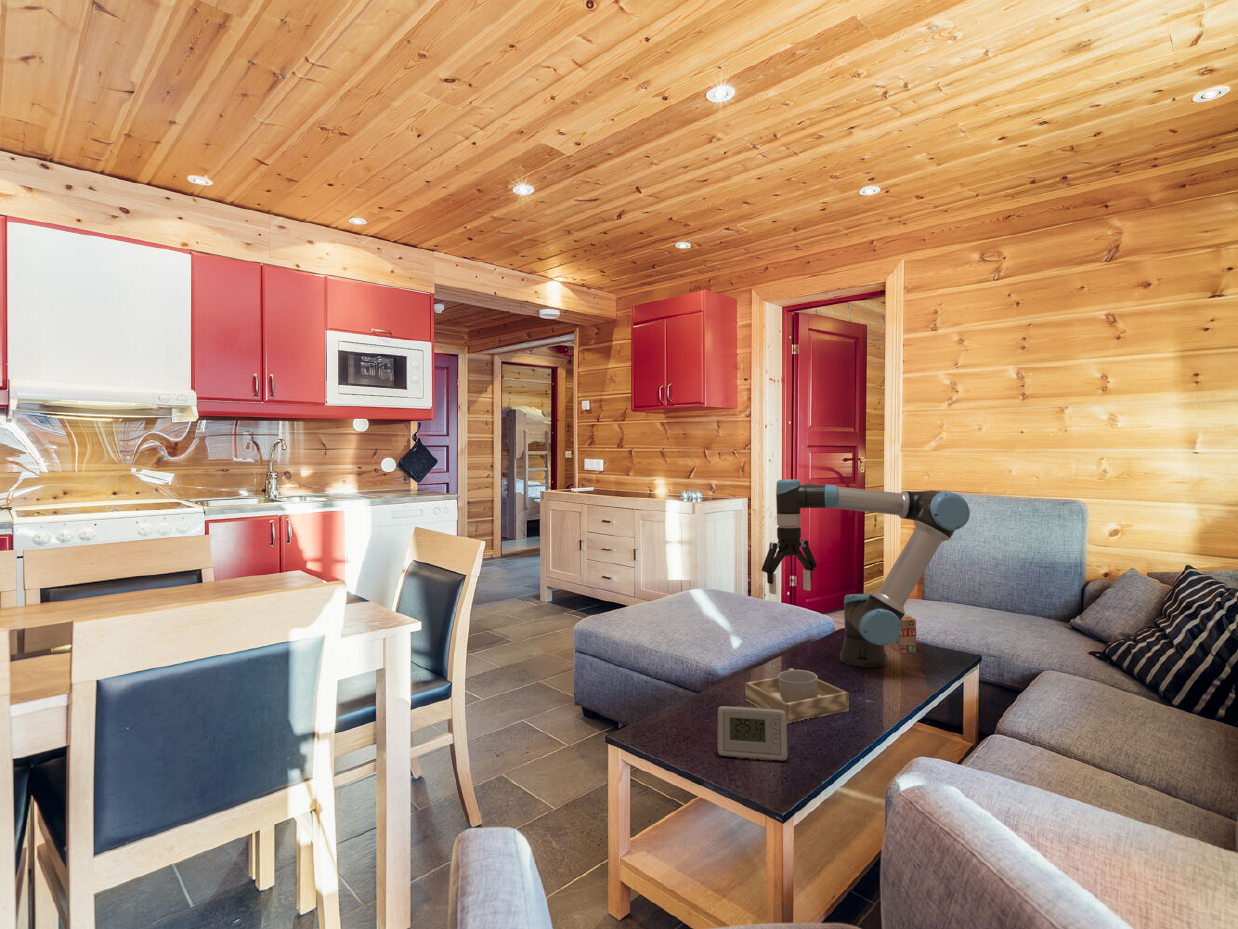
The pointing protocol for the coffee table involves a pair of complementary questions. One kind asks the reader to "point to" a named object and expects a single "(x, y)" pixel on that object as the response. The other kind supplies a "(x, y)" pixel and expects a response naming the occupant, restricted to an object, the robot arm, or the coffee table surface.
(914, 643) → the stack of blocks
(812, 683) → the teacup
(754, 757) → the digital clock
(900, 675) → the coffee table surface
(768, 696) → the walled box
